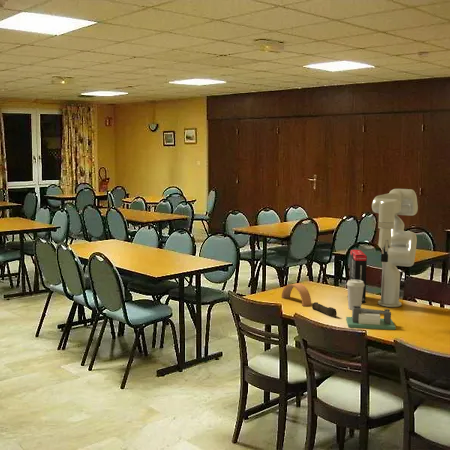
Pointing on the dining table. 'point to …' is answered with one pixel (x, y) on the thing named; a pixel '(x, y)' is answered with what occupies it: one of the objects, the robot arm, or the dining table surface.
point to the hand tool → (325, 309)
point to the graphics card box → (358, 268)
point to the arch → (301, 289)
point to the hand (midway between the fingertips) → (384, 261)
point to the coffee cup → (355, 293)
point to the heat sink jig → (369, 320)
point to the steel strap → (372, 310)
